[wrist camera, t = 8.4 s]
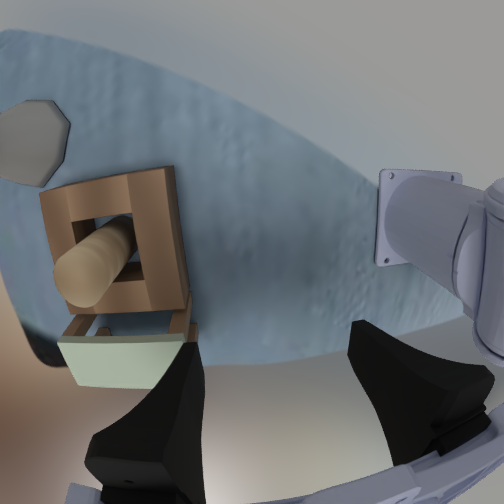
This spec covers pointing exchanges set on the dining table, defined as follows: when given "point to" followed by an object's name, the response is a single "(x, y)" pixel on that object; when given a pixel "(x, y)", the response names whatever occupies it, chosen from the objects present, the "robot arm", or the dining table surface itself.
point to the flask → (32, 142)
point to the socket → (146, 229)
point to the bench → (124, 352)
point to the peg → (95, 262)
